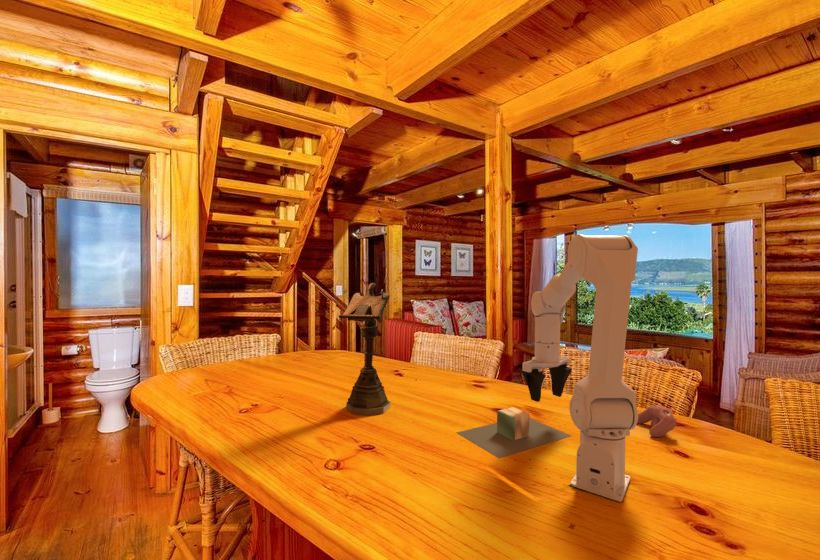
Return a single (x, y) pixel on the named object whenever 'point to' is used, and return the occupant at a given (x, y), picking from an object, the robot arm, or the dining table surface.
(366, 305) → the book stand
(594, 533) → the dining table surface
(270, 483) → the dining table surface
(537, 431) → the rubber mat
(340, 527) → the dining table surface
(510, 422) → the birch block
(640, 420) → the video game controller
